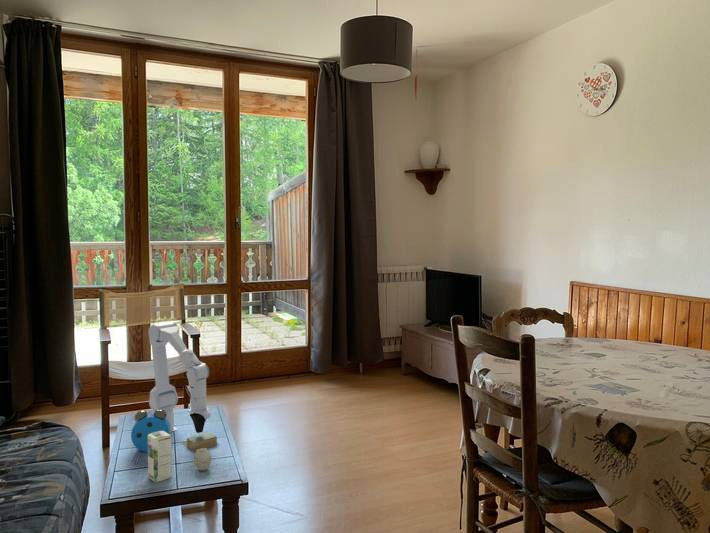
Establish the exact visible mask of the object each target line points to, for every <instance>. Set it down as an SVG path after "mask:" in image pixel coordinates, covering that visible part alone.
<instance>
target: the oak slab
mask: <svg viewBox="0 0 710 533" xmlns="http://www.w3.org/2000/svg"><path fill="white" fill-rule="evenodd" d="M186 441H187V446H188V447H189V448H191V449H192V450H194V451H195V450H198V449H201V448H206V447H209V446H213V445H216V444H217V443H218V437H217V435H215V434H213V433H212V432H210V431H208V432H204V433H200V434H196V435H192V436H190V437H186ZM216 446H217V445H216ZM213 447H214V446H213ZM209 448H210V447H209Z"/></svg>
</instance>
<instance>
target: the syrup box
mask: <svg viewBox="0 0 710 533" xmlns="http://www.w3.org/2000/svg"><path fill="white" fill-rule="evenodd" d="M147 473H148V474H147V475H148V479H150V480H151V481H153V483H159V482H162V481H165V480H167V479H171V478H172V475H173V474H172V435H171V434H170V435H169V434H168V433H166V432H165V431H158V432H154V433H151V434H148V452H147Z"/></svg>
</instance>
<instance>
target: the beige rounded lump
mask: <svg viewBox="0 0 710 533" xmlns="http://www.w3.org/2000/svg"><path fill="white" fill-rule="evenodd" d="M212 459H213V458H212V455H211V453H210V451H209V450H208V448H201V449H198V450H197V451H196V452H194V455H193V459H192V461H193V464H194V466H195V468H196V469H197V470H198V471H201V472H203V471H207V469H209V468H210V466H211V463H212V461H213V460H212Z"/></svg>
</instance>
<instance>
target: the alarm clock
mask: <svg viewBox="0 0 710 533" xmlns="http://www.w3.org/2000/svg"><path fill="white" fill-rule="evenodd" d="M152 411H153V410H150V411H148V412H147V410H144V409H141V410H138V411H137V412H136V413H135V414H134V417H133V419H134V420H133V421H135V423H134V425H133V427H132V429H131V432H130V433H131V434H130V438H131V439H130V440H131V443H132V444H133V446H134V447H135V448H136V449H138V450H139V451H141V452H144V453H148V434H151V433H154V432H158V431H165V432H166V433H168V434H169V435H171V433H172V432H171V426H170V422H169V420H168V419H167V413H166V411H165V410H163V409H157V410H156V411H155V412H152Z"/></svg>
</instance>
